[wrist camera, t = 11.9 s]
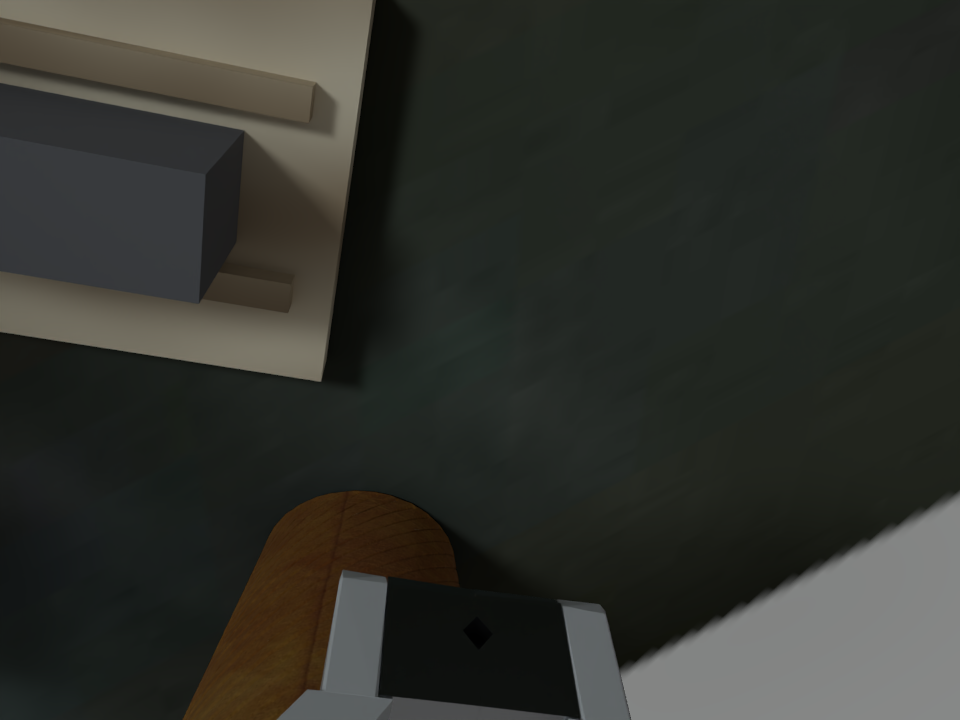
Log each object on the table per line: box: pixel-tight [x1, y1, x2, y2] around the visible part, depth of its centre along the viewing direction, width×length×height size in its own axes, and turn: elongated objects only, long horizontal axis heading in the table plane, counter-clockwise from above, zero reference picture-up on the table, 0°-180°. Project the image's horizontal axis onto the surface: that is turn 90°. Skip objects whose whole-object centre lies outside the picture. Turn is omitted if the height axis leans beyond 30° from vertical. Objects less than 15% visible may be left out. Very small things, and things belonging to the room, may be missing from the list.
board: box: [0, 0, 376, 382], centre depth 19 cm, size 10×15×2 cm, turn 78°
